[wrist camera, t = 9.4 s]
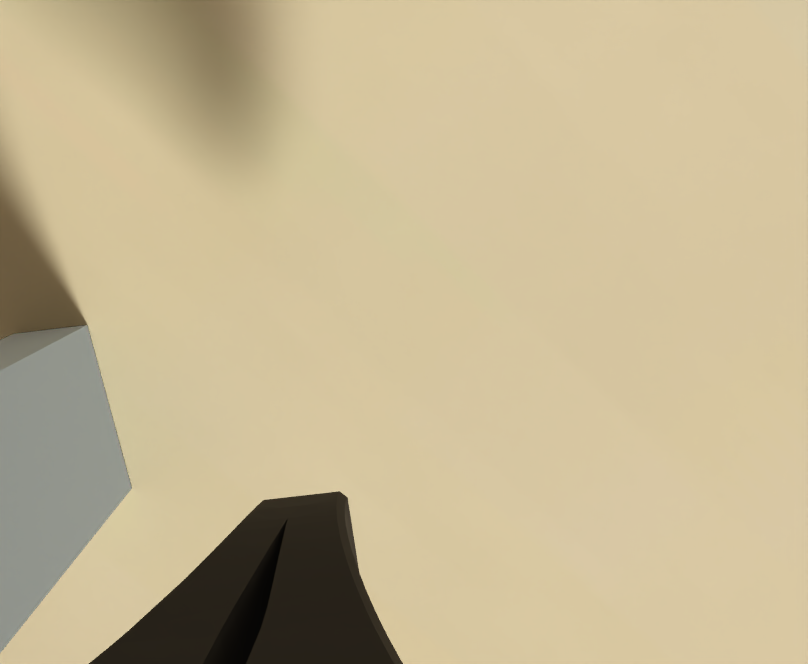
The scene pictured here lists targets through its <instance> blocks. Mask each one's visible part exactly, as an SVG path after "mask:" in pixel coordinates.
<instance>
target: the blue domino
mask: <svg viewBox="0 0 808 664" xmlns="http://www.w3.org/2000/svg"><path fill="white" fill-rule="evenodd" d="M131 489H132V487H131V483H130V480H129V476H128V472H127V469H126V465H125V462H124V458H123V454H122V451H121V447H120V443H119V440H118V436H117V432H116V429H115V425H114V421H113V418H112V414H111V410H110V407H109V403H108V399H107V396H106V392H105V388H104V385H103V381H102V377H101V374H100V370H99V366H98V363H97V359H96V355H95V352H94V348H93V344H92V341H91V337H90V333H89V330H88V326H87V325H83V326H75V327H66V328H58V329H49V330H41V331H32V332H24V333H15V334H12V335H10V336H8V337H5V338H3V339H1V340H0V653H1V652H2V650H3V649H4V648H5V647H6V645H7V644H8V643H9V641H10V640H11V639H12V638H13V636H14V635H15V634H16V633H17V631H18V630H19V629H20V628H21V626H22V625H23V624H24V623H25V621H26V620H27V619H28V618H29V616H30V615H31V614H32V613H33V611H34V610H35V609H36V608H37V606H38V605H39V604H40V603H41V601H42V600H43V599H44V598H45V596H46V595H47V594H48V593H49V591H50V590H51V589H52V588H53V586H54V585H55V584H56V583H57V581H58V580H59V579H60V578H61V576H62V575H63V574H64V573H65V571H66V570H67V569H68V568H69V566H70V565H71V564H72V563H73V561H74V560H75V559H76V558H77V556H78V555H79V554H80V553H81V551H82V550H83V549H84V548H85V546H86V545H87V544H88V543H89V541H90V540H91V539H92V538H93V536H94V535H95V534H96V533H97V531H98V530H99V529H100V528H101V526H102V525H103V524H104V522H105V521H106V520H107V519H108V517H109V516H110V515H111V514H112V512H113V511H114V510H115V509H116V507H117V506H118V505H119V504H120V502H121V501H122V500H123V499H124V497H125V496H126V495H127V494H128V492H129V491H130V490H131Z"/></svg>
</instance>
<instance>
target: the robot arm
mask: <svg viewBox="0 0 808 664" xmlns="http://www.w3.org/2000/svg"><path fill="white" fill-rule="evenodd" d="M89 664H403V663H402V662H401V660H400V658H399V656H398V654H397V653H396V651H395V649H394V647H393V645H392V643H391V642H390V640H389V638H388V636H387V634H386V632H385V630H384V628H383V626H382V624H381V622H380V620H379V618H378V616H377V614H376V612H375V610H374V607H373V605H372V603H371V601H370V598H369V596H368V594H367V591H366V589H365V586H364V584H363V581H362V579H361V576H360V574H359V569H358V562H357V556H356V549H355V543H354V537H353V530H352V524H351V517H350V511H349V505H348V498H347V497H346V496H345V495H343V494H342V493H341V492H331V493H322V494H314V495H305V496H296V497H287V498H278V499H270V500H263V501H262V502H261V503H260V504H259V505H258V506H257V507H256V508H255V509H254V510H253V511H252V512H251V513H250V514H249V515H248V516H247V517H246V518H245V519H244V520H243V521H242V522H241V523H240V524H239V525H238V526H237V527H236V528H235V529H234V530H233V531H232V532H231V533H230V534H229V535H228V536H227V537H226V538H225V539H224V540H223V541H222V542H221V543H220V544H219V545H218V546H217V547H216V548H215V550H214V551H213V552H212V553H211V554H210V555H209V556H208V557H207V558H206V559H205V560H204V561H203V562H202V563H201V564H200V565H199V566H198V567H197V568H196V569H195V570H194V571H193V572H192V573H191V574H190V575H189V576H188V577H187V578H186V579H184V580H183V581H182V582H181V583H180V584H179V585H178V586H177V587H176V588H175V589H174V590H173V591H171V592H170V593H169V594H168V595H167V596H166V597H165V598H164V599H163V600H162V601H161V602H159V603H158V604H157V605H156V606H155V607H154V608H153V609H152V610H151V611H150V612H149V613H147V614H146V615H145V616H144V617H143V618H142V619H141V620H140V621H139V622H138V623H137V624H135V625H134V626H133V627H132V628H131V629H130V630H129V631H128V632H127V633H125V634H124V635H123V636H122V637H121V638H119V639H118V640H117V641H116V642H115V643H114V644H112V645H111V646H110V647H109V648H108V649H106V650H105V651H104V652H103V653H101V654H100V655H99V656H98V657H97V658H95V659H94V660H93V661H92V662H90V663H89Z"/></svg>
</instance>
